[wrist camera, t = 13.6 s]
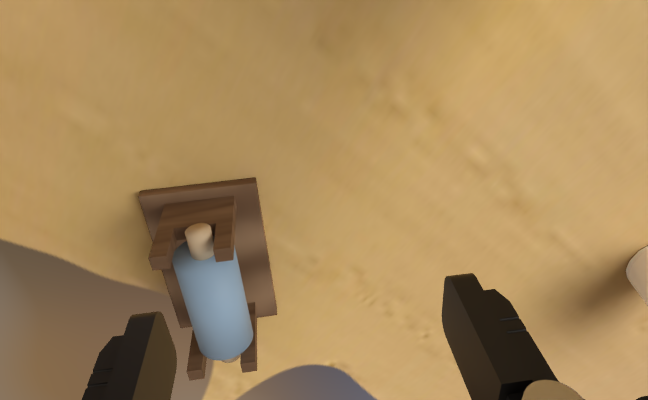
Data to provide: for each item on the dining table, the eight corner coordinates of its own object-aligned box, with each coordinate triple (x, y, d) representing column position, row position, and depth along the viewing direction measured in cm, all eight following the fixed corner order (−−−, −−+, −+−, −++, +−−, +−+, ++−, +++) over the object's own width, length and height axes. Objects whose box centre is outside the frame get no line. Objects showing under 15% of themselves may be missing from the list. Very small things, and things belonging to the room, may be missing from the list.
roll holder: (140, 190, 41) (116, 250, 34) (255, 177, 42) (255, 233, 35) (181, 321, 49) (169, 390, 42) (276, 308, 50) (280, 374, 43)
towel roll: (158, 226, 38) (174, 258, 34) (217, 205, 40) (239, 234, 36) (196, 347, 45) (213, 385, 42) (245, 326, 47) (265, 360, 43)
